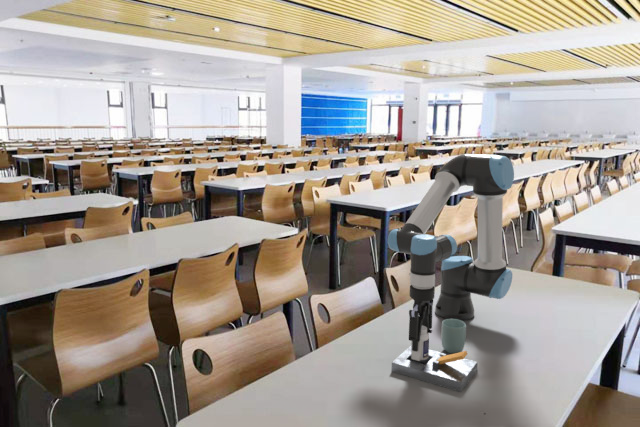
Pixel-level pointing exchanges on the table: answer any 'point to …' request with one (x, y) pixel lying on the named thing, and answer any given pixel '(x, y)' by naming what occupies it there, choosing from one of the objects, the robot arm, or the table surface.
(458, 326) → the cup
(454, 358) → the lever
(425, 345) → the pill bottle
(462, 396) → the table surface
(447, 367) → the hitch plate
